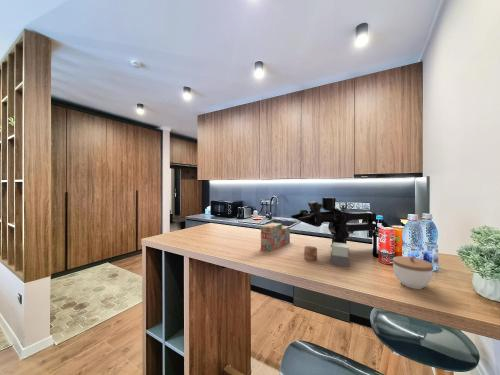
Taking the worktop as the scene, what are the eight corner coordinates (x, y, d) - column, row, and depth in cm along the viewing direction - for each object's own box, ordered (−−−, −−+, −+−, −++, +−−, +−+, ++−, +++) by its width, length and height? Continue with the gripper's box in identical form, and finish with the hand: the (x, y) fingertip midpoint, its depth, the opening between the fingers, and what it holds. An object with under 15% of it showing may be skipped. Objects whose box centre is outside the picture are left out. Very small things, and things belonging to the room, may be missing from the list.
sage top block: (332, 251, 94) (333, 242, 94) (347, 253, 91) (347, 243, 91) (332, 255, 88) (332, 245, 88) (347, 257, 86) (347, 247, 86)
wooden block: (313, 256, 98) (313, 245, 98) (319, 260, 93) (319, 249, 93) (302, 257, 97) (302, 246, 97) (307, 261, 92) (307, 250, 92)
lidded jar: (407, 292, 65) (408, 262, 65) (385, 277, 76) (385, 251, 76) (442, 292, 65) (442, 262, 65) (415, 277, 76) (415, 251, 76)
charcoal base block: (331, 259, 94) (331, 250, 94) (348, 262, 92) (348, 252, 91) (330, 264, 88) (330, 255, 88) (348, 267, 85) (349, 257, 85)
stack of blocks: (280, 240, 126) (280, 220, 126) (290, 242, 123) (290, 221, 122) (260, 249, 109) (260, 225, 109) (270, 251, 106) (271, 227, 105)
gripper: (314, 200, 119) (288, 200, 116) (332, 203, 101) (302, 203, 98) (314, 220, 119) (288, 220, 116) (332, 226, 101) (302, 227, 98)
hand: (294, 217), depth 107 cm, fingers open, 9 cm apart
